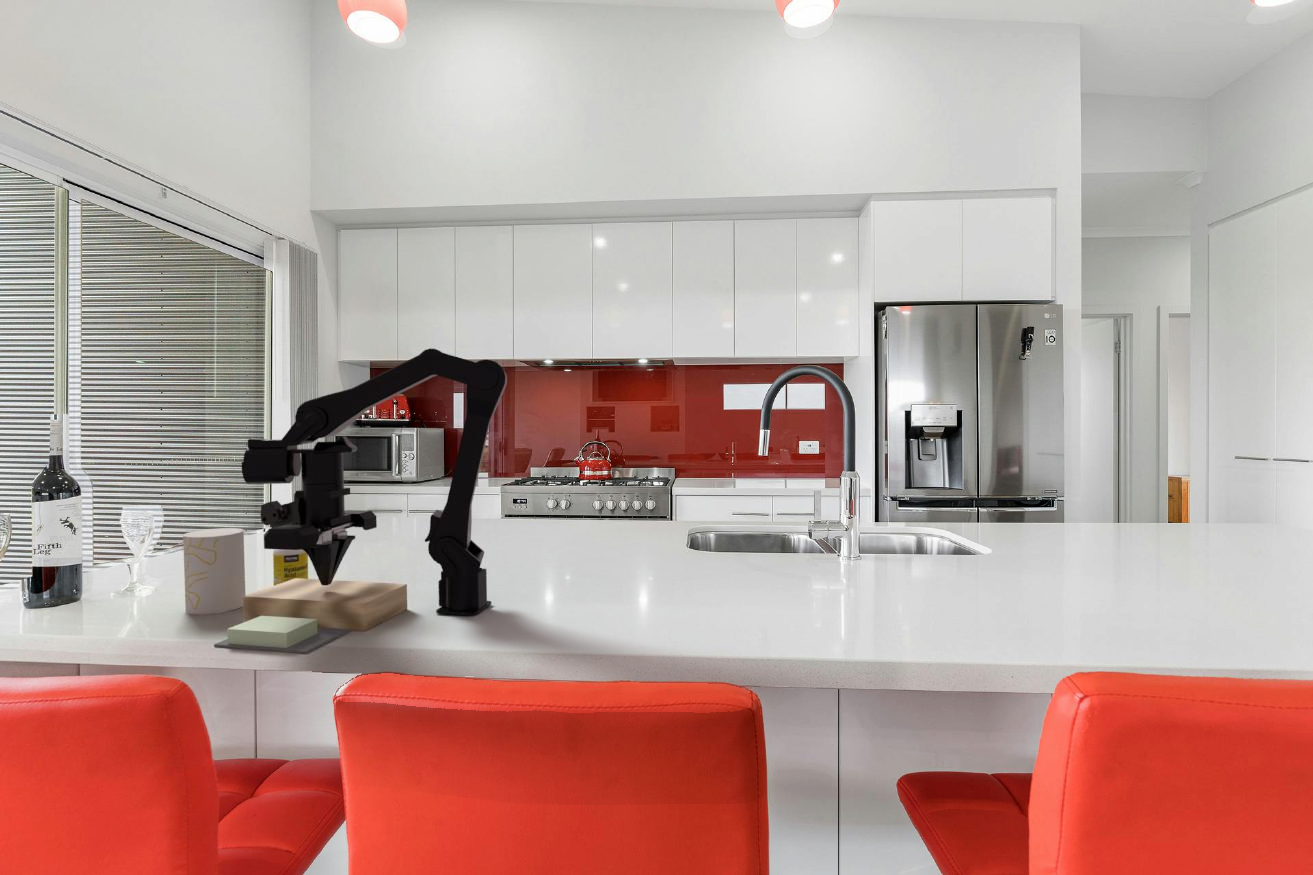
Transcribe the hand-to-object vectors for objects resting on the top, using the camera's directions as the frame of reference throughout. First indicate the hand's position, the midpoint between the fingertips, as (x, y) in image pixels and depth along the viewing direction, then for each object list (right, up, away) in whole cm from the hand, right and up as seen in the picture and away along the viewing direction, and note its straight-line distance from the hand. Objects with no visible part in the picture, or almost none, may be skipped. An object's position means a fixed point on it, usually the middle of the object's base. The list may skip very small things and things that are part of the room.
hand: (326, 584), depth 106 cm
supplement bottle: (-14, -4, +17) cm, 22 cm away
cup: (-20, -5, +6) cm, 22 cm away
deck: (0, -5, +1) cm, 5 cm away
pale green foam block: (-2, -3, -11) cm, 11 cm away
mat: (-1, -5, -10) cm, 11 cm away
